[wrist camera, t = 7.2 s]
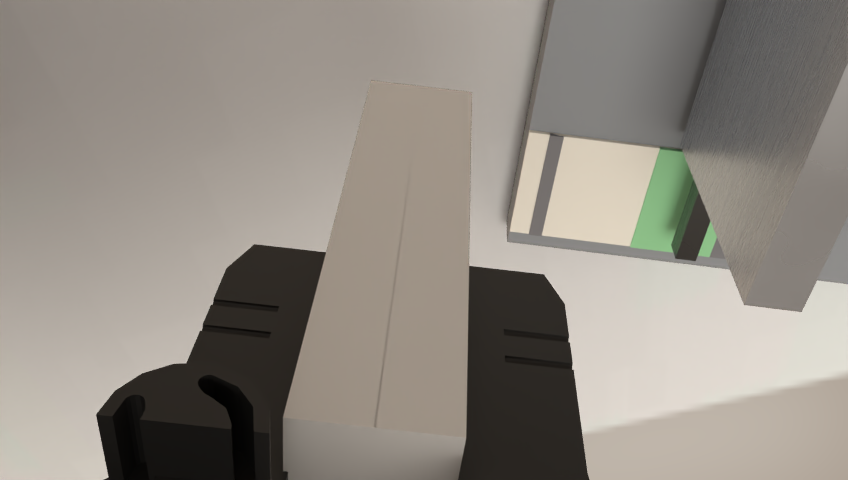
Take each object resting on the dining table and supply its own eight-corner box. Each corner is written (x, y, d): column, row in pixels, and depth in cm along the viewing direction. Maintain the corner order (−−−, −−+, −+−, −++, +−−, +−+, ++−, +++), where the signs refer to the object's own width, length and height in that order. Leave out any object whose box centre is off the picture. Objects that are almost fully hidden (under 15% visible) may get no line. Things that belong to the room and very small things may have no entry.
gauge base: (506, 220, 27) (511, 427, 19) (603, -279, 19) (675, -253, 11) (911, 271, 27) (1071, 497, 19) (1183, -208, 19) (1635, -135, 11)
